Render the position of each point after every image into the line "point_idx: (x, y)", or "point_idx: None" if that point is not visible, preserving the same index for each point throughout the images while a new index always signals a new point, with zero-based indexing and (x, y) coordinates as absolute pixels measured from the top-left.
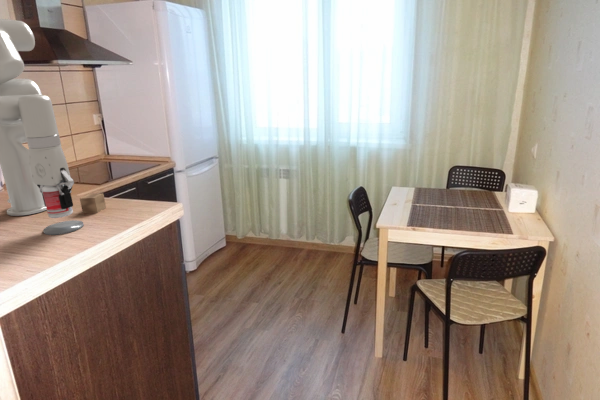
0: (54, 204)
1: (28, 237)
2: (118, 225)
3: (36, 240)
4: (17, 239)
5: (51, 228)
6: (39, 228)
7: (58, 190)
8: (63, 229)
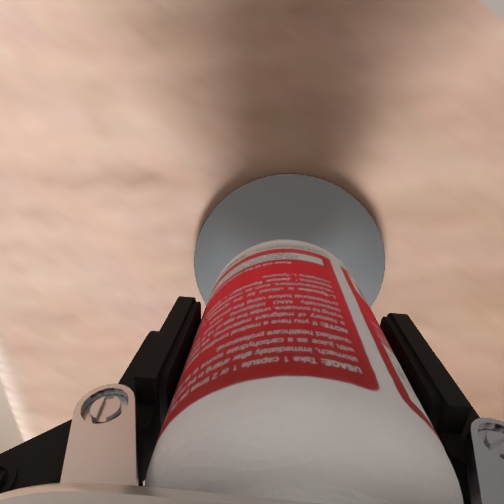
0: (229, 299)
1: (376, 107)
2: (69, 350)
3: (279, 86)
4: (422, 58)
5: (330, 232)
6: (435, 234)
7: (126, 440)
8: (245, 238)
